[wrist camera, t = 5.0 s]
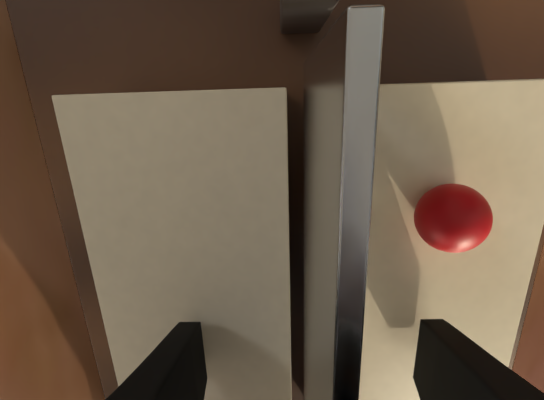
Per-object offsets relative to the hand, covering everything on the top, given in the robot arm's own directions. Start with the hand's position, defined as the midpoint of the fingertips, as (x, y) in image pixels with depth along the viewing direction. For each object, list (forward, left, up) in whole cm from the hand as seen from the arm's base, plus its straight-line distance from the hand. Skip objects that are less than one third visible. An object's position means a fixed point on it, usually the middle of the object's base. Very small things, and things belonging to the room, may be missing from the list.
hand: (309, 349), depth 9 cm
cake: (0, 0, -5) cm, 5 cm away
